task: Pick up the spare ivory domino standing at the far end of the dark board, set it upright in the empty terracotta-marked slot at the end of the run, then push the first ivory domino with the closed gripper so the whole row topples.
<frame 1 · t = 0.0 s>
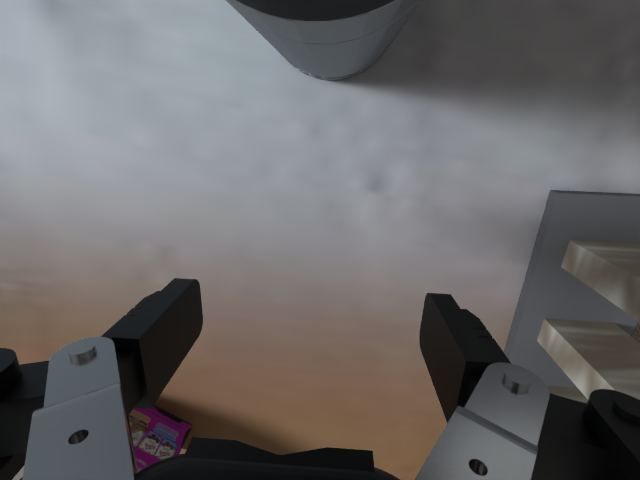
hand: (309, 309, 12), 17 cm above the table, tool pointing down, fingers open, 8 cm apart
domino board: (534, 416, 35), on the table
ivory domino 1: (602, 255, 27), point 1 cm above the table, touching domino board
candy bar box: (142, 414, 38), on the table
ivory domino 3: (551, 395, 33), point 1 cm above the table, touching domino board
ivory domino 2: (574, 331, 30), point 1 cm above the table, touching domino board
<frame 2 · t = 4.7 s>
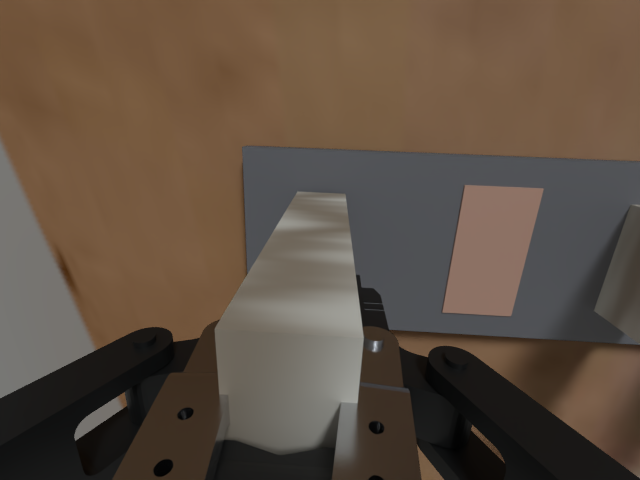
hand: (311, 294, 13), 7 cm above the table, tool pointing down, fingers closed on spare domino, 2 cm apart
ivory domino 4: (635, 261, 17), point 1 cm above the table, touching domino board
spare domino: (319, 248, 18), point 1 cm above the table, touching gripper
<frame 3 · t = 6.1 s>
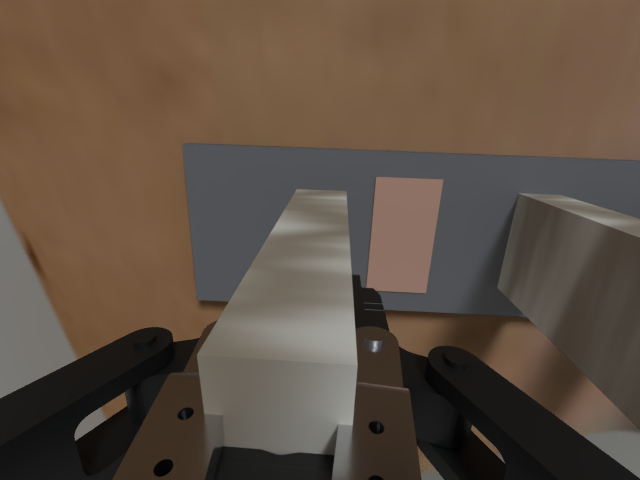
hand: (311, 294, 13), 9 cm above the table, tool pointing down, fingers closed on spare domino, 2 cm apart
domino board: (575, 240, 21), on the table
ivory domino 4: (527, 243, 20), point 1 cm above the table, touching domino board
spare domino: (319, 247, 17), point 4 cm above the table, touching gripper
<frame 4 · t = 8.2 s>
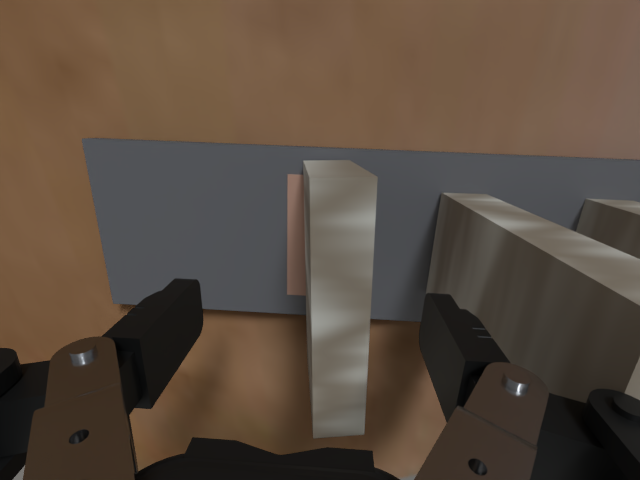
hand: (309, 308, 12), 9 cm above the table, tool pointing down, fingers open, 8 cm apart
domino board: (509, 243, 20), on the table
ivory domino 4: (454, 246, 19), point 1 cm above the table, touching domino board, gripper
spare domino: (333, 167, 14), point 4 cm above the table, tilted 90°, touching domino board
ivory domino 3: (591, 253, 18), point 1 cm above the table, touching domino board
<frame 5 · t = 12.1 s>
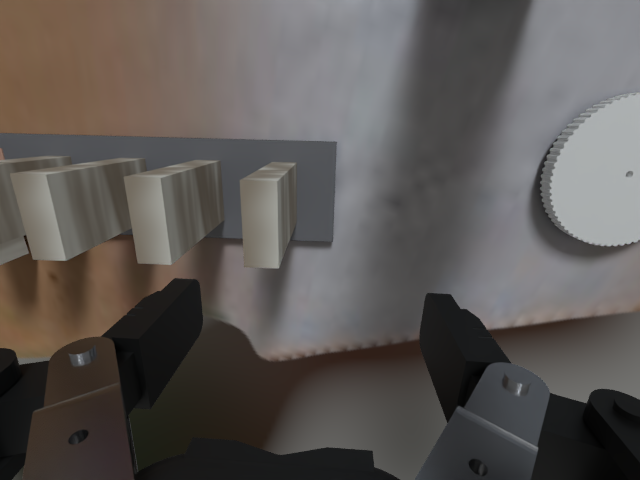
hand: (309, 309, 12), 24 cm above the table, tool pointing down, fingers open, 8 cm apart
domino board: (105, 185, 35), on the table
ivory domino 4: (65, 186, 34), point 1 cm above the table, touching domino board
ivory domino 1: (284, 192, 33), point 1 cm above the table, touching domino board
plastic lid: (606, 170, 33), on the table
ivory domino 3: (137, 188, 34), point 1 cm above the table, touching domino board
ivory domino 2: (210, 190, 34), point 1 cm above the table, touching domino board
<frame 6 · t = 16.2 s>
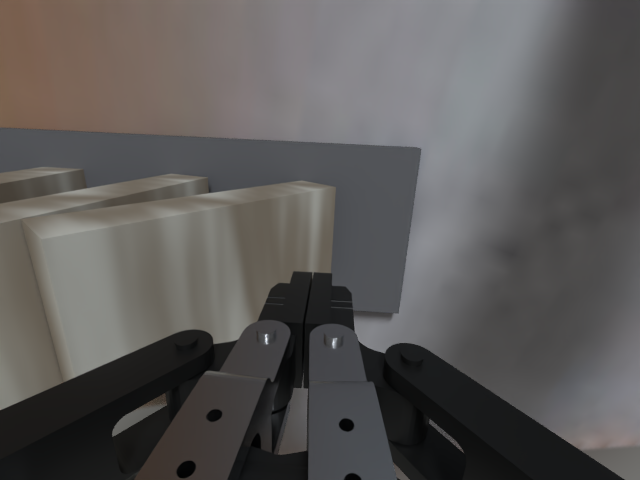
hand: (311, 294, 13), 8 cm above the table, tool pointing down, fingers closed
domino board: (24, 210, 21), on the table
ivory domino 1: (316, 236, 19), point 2 cm above the table, tilted 37°, touching domino board
ivory domino 3: (73, 218, 20), point 1 cm above the table, touching domino board
ivory domino 2: (193, 227, 19), point 1 cm above the table, tilted 14°, touching domino board
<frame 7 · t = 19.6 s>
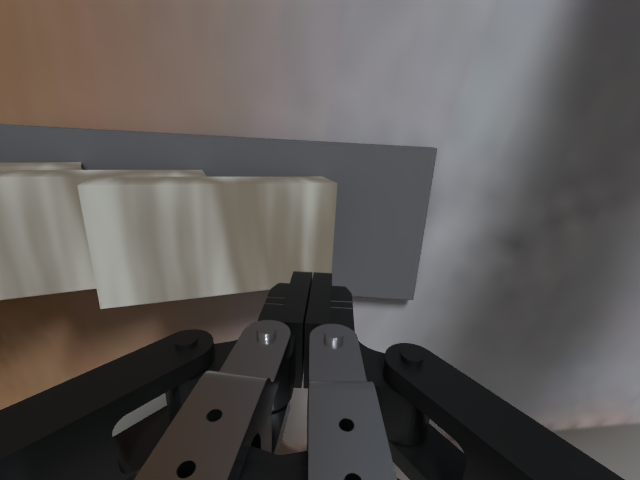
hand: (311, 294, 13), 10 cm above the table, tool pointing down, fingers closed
domino board: (65, 204, 23), on the table
ivory domino 1: (326, 229, 20), point 2 cm above the table, tilted 68°, touching domino board, ivory domino 2
ivory domino 3: (89, 213, 21), point 2 cm above the table, tilted 54°, touching domino board, ivory domino 2, ivory domino 4
ivory domino 2: (206, 222, 20), point 2 cm above the table, tilted 64°, touching domino board, ivory domino 1, ivory domino 3
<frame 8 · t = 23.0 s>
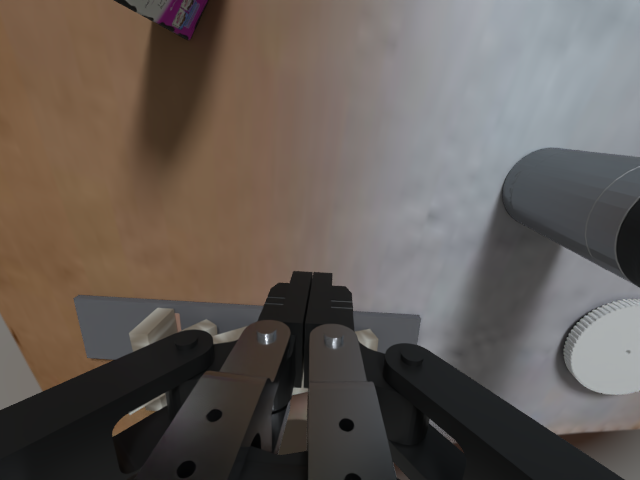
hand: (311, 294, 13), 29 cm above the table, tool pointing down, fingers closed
domino board: (246, 335, 48), on the table
ivory domino 4: (213, 340, 47), point 2 cm above the table, tilted 37°, touching domino board, ivory domino 3, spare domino
ivory domino 1: (372, 352, 46), point 2 cm above the table, tilted 68°, touching domino board, ivory domino 2
plastic lid: (611, 339, 46), on the table
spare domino: (152, 320, 43), point 4 cm above the table, tilted 90°, touching domino board, ivory domino 4
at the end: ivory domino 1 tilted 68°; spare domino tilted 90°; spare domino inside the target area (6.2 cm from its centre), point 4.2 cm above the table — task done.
